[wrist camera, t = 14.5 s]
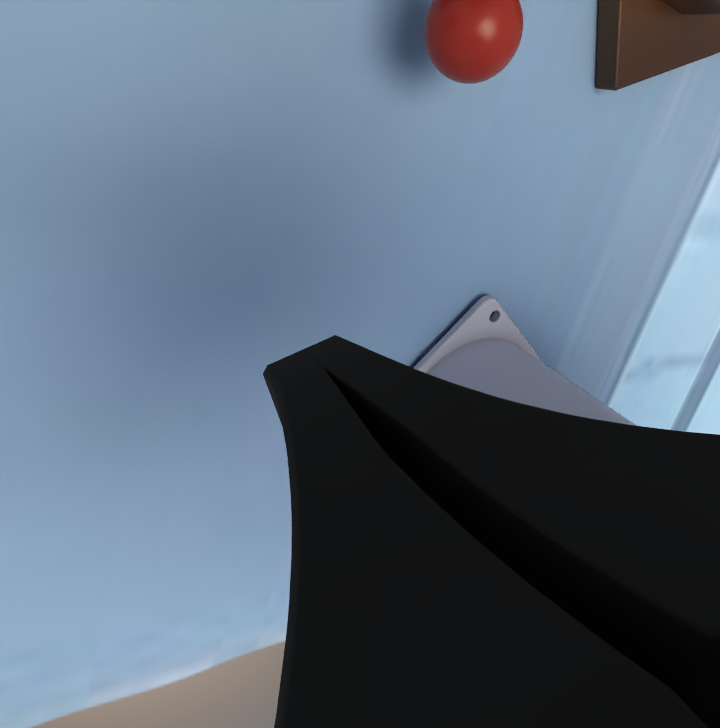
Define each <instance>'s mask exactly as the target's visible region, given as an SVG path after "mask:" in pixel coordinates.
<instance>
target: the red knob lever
mask: <svg viewBox="0 0 720 728" xmlns="http://www.w3.org/2000/svg"><path fill="white" fill-rule="evenodd" d="M522 30H523V14H522V8H521V5H520V2H519V0H433V2H432V3H431V5H430V8H429V10H428V13H427V16H426V21H425V29H424V37H425V45H426V49H427V52H428V55H429V57H430V59H431V61H432V63H433V64H434V66H435V67H436V68H437V69H438V70H439V71H440V72H441V73H442V74H443V75H444V76H446V77H447V78H449V79H451V80H453V81H456V82H460V83H468V84H469V83H478V82H482V81H485V80H488V79H490V78H491V77H493V76H495V75H496V74H498V73H499V72H500V71H502V70H503V69H504V68H505V67H506V65H507V64H508V63H509V62H510V60H511V59H512V58H513V56H514V54H515V52H516V51H517V48H518V46H519V43H520V40H521V36H522Z"/></svg>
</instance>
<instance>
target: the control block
mask: <svg viewBox="0 0 720 728" xmlns="http://www.w3.org/2000/svg"><path fill="white" fill-rule="evenodd" d="M719 52H720V0H599V14H598V43H597V71H596V88H598V89H607V90H618V89H621V88H623V87H626V86H629V85H632V84H634V83H637V82H640V81H642V80H645V79H648V78H651V77H653V76H656V75H659V74H662V73H664V72H667V71H670V70H673V69H675V68H678V67H681V66H684V65H686V64H689V63H692V62H694V61H697V60H700V59H703V58H705V57H708V56H711V55H714V54H716V53H719Z"/></svg>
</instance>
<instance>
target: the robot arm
mask: <svg viewBox="0 0 720 728" xmlns="http://www.w3.org/2000/svg"><path fill="white" fill-rule="evenodd" d="M492 312H494V314H493V315H492V317H490V315H491V314H492ZM263 376H264V378H265V381H266V384H267V386H268V389H269V392H270V394H271V397H272V400H273V402H274V405H275V408H276V410H277V413H278V416H279V418H280V421H281V424H282V426H283V431H284V437H285V442H286V448H287V456H288V467H289V478H290V490H291V510H292V560H291V579H290V599H289V612H288V624H287V634H286V642H285V650H284V658H283V666H282V675H281V682H280V690H279V698H278V707H277V713H276V721H275V726H274V728H720V435H715V434H704V433H693V432H682V431H674V430H665V429H657V428H649V427H641V426H636V425H635V424H633V423H632V422H630V421H629V420H627V419H626V418H624V417H623V416H621V415H620V414H619V413H617V412H616V411H614V410H613V409H611V408H610V407H608V406H607V405H605V404H604V403H602V402H601V401H599V400H598V399H596V398H595V397H593V396H592V395H591V394H589V393H588V392H586V391H585V390H583V389H582V388H580V387H579V386H577V385H576V384H574V383H573V382H571V381H570V380H568V379H567V378H565V377H564V376H563V375H561V374H560V373H558V372H557V371H555V370H554V369H552V368H551V367H549V366H548V365H546V364H545V363H543V361H542V360H541V359H540V357H539V356H538V354H537V353H536V352H535V350H534V349H533V348H532V346H531V345H530V344H529V342H528V341H527V340H526V338H525V337H524V336H523V334H522V333H521V332H520V330H519V329H518V328H517V326H516V325H515V324H514V322H513V321H512V319H511V318H510V317H509V315H508V314H507V313H506V311H505V310H504V309H503V307H502V306H501V305H500V303H499V302H498V301H497V300H496V299H495V298H493V297H492V296H489V295H486V296H483V297H482V298H480V299H479V300H478V301H477V302H476V303H475V304H474V305H473V306H472V307H471V308H470V309H469V310H468V311H467V312H466V314H465V315H464V316H463V317H462V318H461V319H460V320H459V321H458V322H457V323H456V324H455V325H454V326H453V327H452V328H451V329H450V330H449V331H448V332H447V333H446V334H445V335H444V336H443V337H442V338H441V339H440V341H439V342H438V343H437V344H436V345H435V346H434V347H433V348H432V349H431V350H430V351H429V352H428V353H427V354H426V355H425V356H424V357H423V358H422V359H421V360H420V361H419V362H418V363H417V364H416V365H415V366H414V368H411V367H409V366H406V365H404V364H401V363H399V362H396V361H394V360H392V359H389V358H387V357H385V356H382V355H380V354H378V353H375V352H373V351H371V350H368V349H366V348H364V347H361V346H359V345H357V344H355V343H352V342H350V341H348V340H345V339H343V338H341V337H338V336H336V335H335V336H332V337H330V338H328V339H326V340H323V341H321V342H319V343H317V344H314V345H312V346H310V347H308V348H305V349H303V350H301V351H299V352H296V353H294V354H292V355H290V356H287V357H285V358H283V359H281V360H278V361H276V362H274V363H272V364H269V365H267V367H266V369H265V371H264V373H263Z"/></svg>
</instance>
